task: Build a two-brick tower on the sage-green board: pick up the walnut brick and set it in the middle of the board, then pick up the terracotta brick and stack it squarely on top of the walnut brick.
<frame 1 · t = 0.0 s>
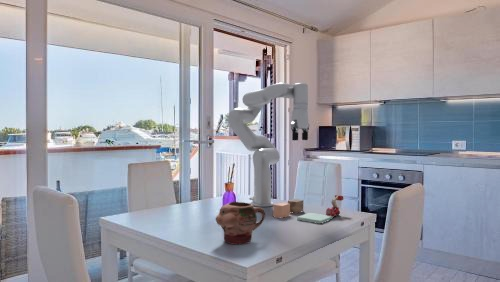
hand: (300, 140, 194), 37 cm above the table, tool pointing down, fingers open, 9 cm apart
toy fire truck: (334, 216, 182), on the table
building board: (315, 219, 174), on the table
terracotta brick: (281, 216, 181), on the table
brown sculpted mug: (241, 241, 140), on the table
walnut brick: (295, 212, 191), on the table
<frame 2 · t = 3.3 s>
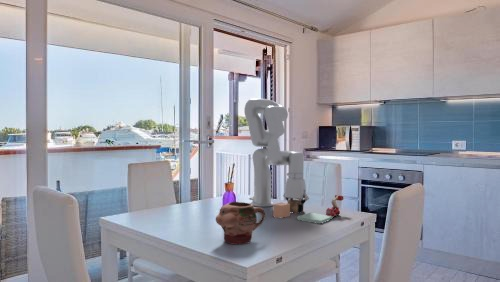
hand: (295, 211, 191), 0 cm above the table, tool pointing down, fingers closed on walnut brick, 5 cm apart
walnut brick: (295, 212, 191), on the table, touching gripper
everything else where it was.
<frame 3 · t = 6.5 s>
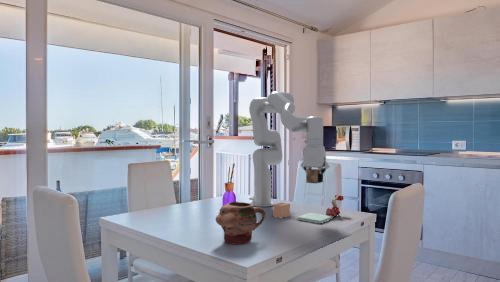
hand: (314, 181, 175), 18 cm above the table, tool pointing down, fingers closed on walnut brick, 5 cm apart
walnut brick: (314, 182, 175), point 17 cm above the table, touching gripper
everything else where it was.
when the fingers open (3 cm above the table, at t = 9.8 s): walnut brick stays where it is, resting on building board.
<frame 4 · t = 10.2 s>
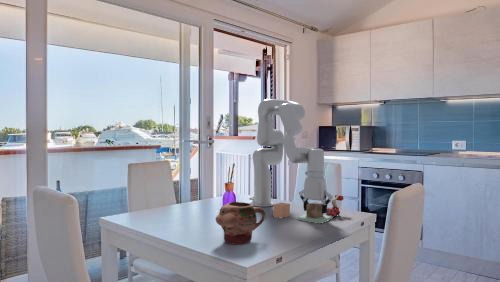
hand: (315, 211, 174), 4 cm above the table, tool pointing down, fingers open, 9 cm apart
walnut brick: (314, 216, 174), point 1 cm above the table, touching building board
everything else where it was.
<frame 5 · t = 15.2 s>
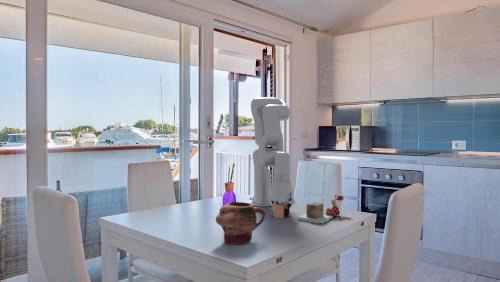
hand: (281, 215, 181), 0 cm above the table, tool pointing down, fingers closed on terracotta brick, 5 cm apart
terracotta brick: (281, 216, 181), on the table, touching gripper
everything else where it was.
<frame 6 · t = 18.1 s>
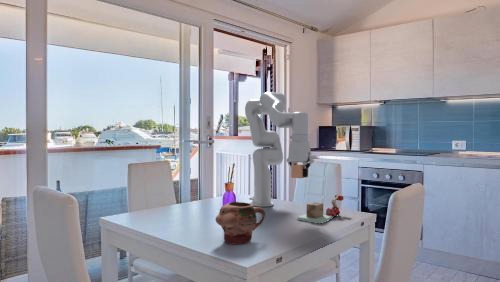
hand: (299, 176, 177), 20 cm above the table, tool pointing down, fingers closed on terracotta brick, 5 cm apart
terracotta brick: (299, 177, 177), point 19 cm above the table, touching gripper
everything else where it was.
when the fingers open (9 cm above the table, at t = 21.0 s): terracotta brick stays where it is, resting on walnut brick.
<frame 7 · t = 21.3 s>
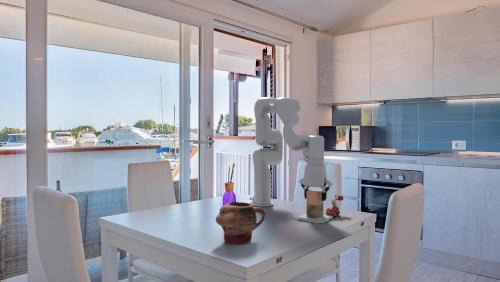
hand: (315, 199, 174), 10 cm above the table, tool pointing down, fingers open, 8 cm apart
terracotta brick: (314, 203, 174), point 7 cm above the table, touching walnut brick
walnut brick: (314, 216, 174), point 1 cm above the table, touching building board, terracotta brick
everything else where it was.
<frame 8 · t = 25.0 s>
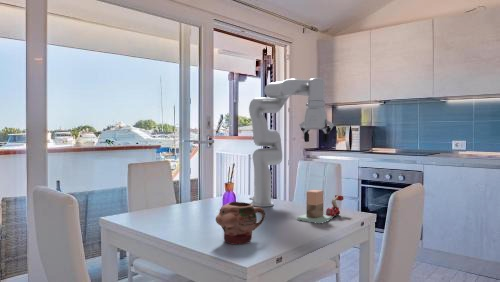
hand: (315, 142, 173), 36 cm above the table, tool pointing down, fingers open, 9 cm apart
nothing on the table moved.
at the end: walnut brick 0.1 cm off-centre on the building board, point 1.5 cm above the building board's base; terracotta brick 0.1 cm off-centre on the walnut brick, point 6.0 cm above the walnut brick's base; terracotta brick tilted 0° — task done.
